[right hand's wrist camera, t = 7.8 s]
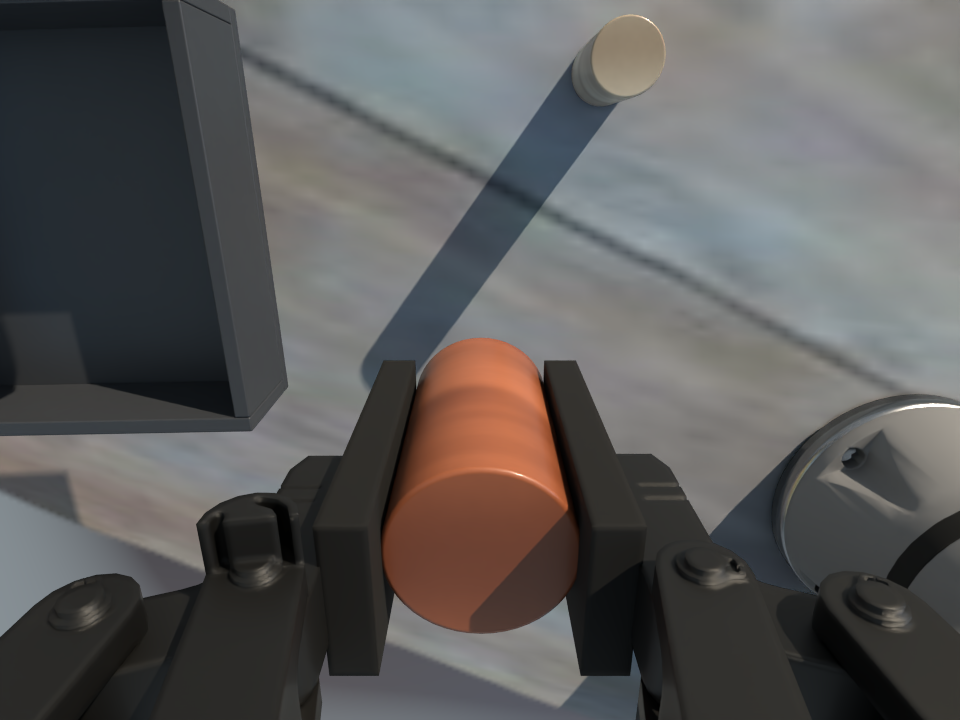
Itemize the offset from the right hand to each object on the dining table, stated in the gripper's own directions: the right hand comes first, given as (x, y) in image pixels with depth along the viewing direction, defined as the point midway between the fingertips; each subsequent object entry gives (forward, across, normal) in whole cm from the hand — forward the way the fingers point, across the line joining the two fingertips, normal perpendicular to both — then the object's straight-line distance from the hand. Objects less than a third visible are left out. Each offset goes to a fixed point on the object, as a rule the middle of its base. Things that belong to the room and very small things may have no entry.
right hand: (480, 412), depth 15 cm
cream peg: (+21, -6, -10) cm, 24 cm away
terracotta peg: (0, 0, 0) cm, 0 cm away
